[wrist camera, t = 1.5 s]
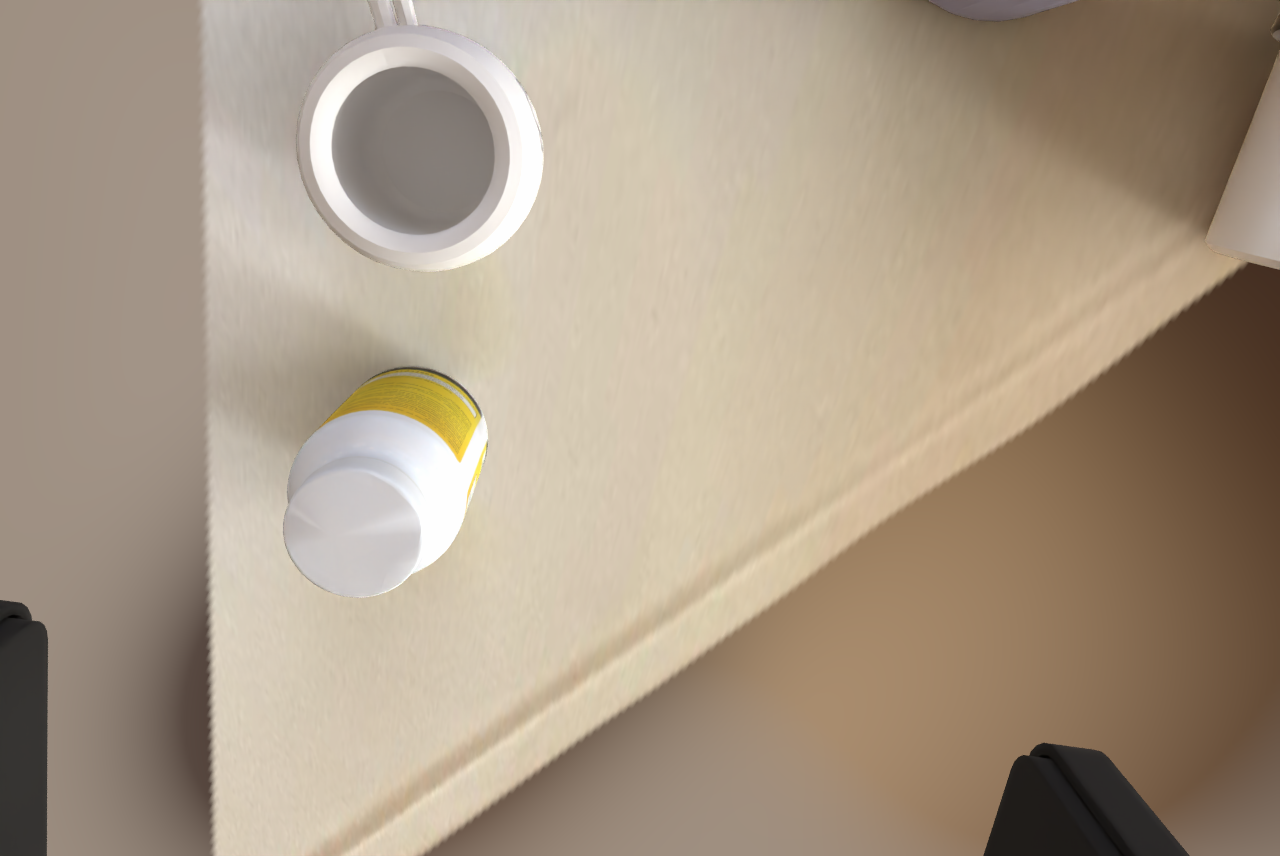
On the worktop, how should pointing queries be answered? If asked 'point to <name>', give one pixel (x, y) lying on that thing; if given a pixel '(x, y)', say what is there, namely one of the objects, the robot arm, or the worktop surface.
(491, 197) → the mug
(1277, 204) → the mug
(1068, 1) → the container
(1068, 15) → the worktop surface
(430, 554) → the pill bottle
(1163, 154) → the worktop surface
